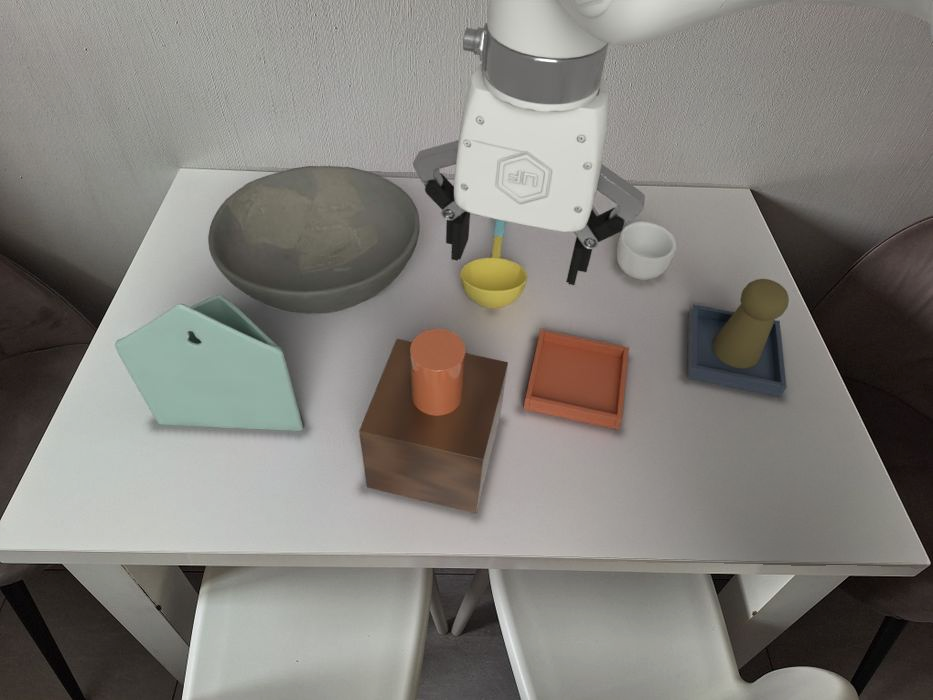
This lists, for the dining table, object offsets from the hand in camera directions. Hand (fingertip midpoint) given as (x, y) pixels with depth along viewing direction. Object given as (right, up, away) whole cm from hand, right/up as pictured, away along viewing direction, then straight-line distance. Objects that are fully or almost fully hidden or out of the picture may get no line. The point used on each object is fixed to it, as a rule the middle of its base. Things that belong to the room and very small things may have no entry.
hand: (515, 261), depth 54 cm
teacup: (+21, +5, +40) cm, 46 cm away
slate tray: (+30, -8, +30) cm, 43 cm away
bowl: (-24, +2, +35) cm, 43 cm away
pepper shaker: (+30, -8, +30) cm, 43 cm away
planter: (-31, -13, +22) cm, 40 cm away
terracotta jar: (-7, -12, +10) cm, 17 cm away
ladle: (0, +6, +40) cm, 40 cm away
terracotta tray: (+9, -11, +26) cm, 29 cm away
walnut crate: (-8, -19, +18) cm, 27 cm away
